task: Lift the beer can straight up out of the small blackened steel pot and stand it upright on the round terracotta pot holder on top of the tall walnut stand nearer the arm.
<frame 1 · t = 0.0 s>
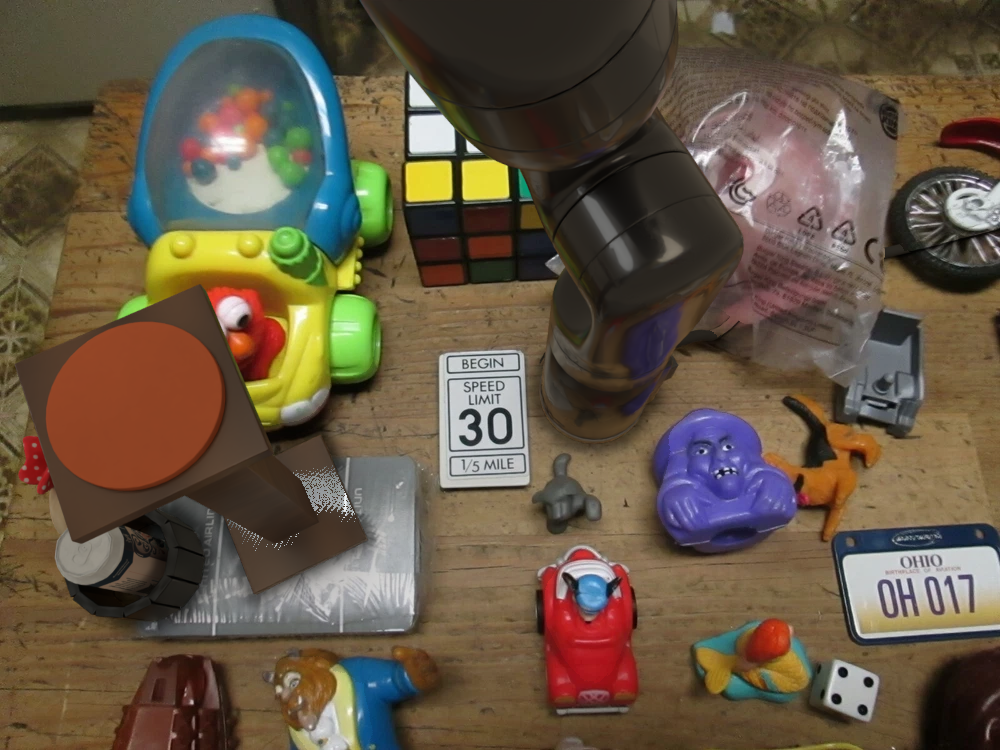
beer can: (153, 567, 69), resting in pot
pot: (152, 567, 69), on the table
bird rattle: (113, 493, 71), on the table
stand: (290, 513, 71), on the table
pot holder: (139, 405, 41), resting on stand
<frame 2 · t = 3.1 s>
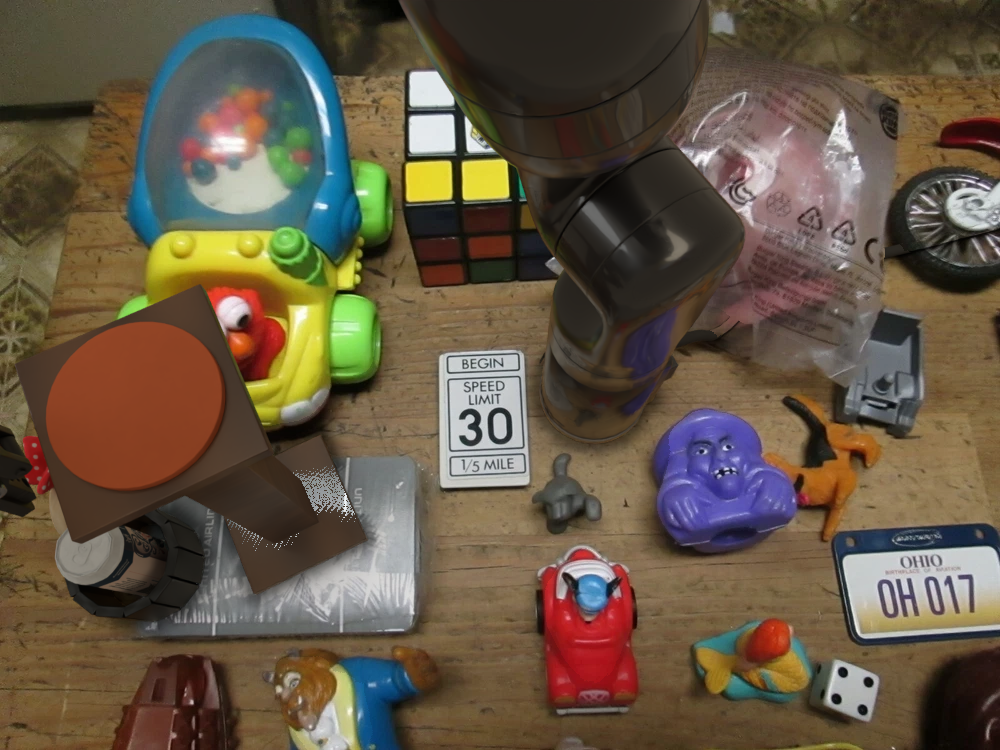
nothing on the table moved.
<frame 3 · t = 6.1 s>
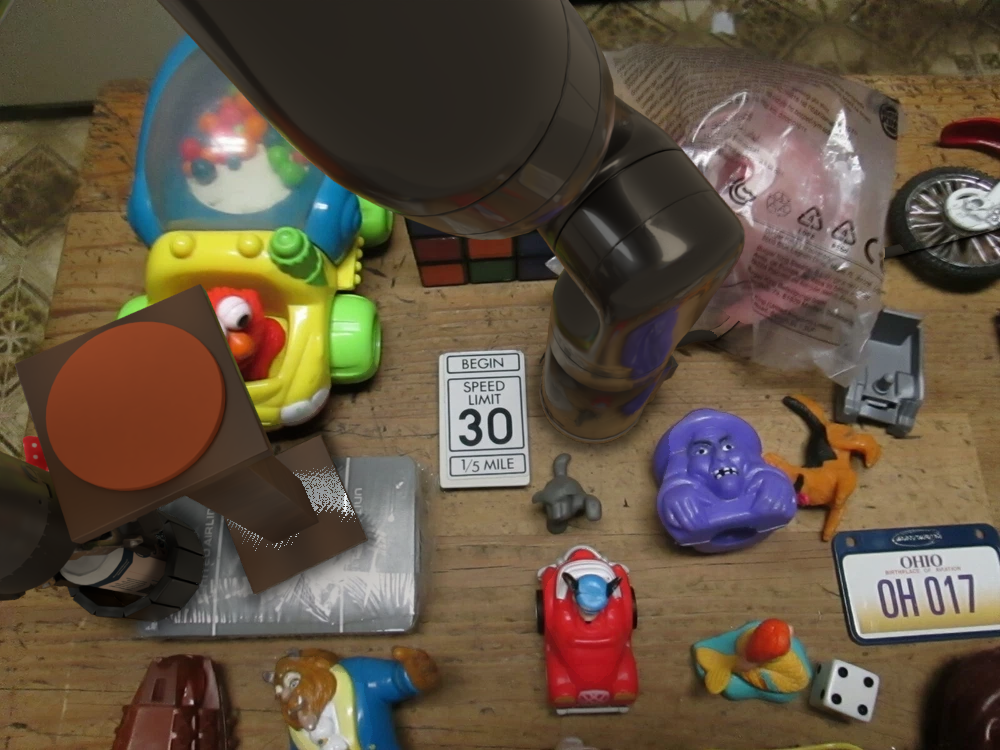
hand: (113, 556, 62), 7 cm above the table, tool pointing down, fingers closed on beer can, 4 cm apart
beer can: (153, 567, 69), resting in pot, touching gripper
everything else where it was.
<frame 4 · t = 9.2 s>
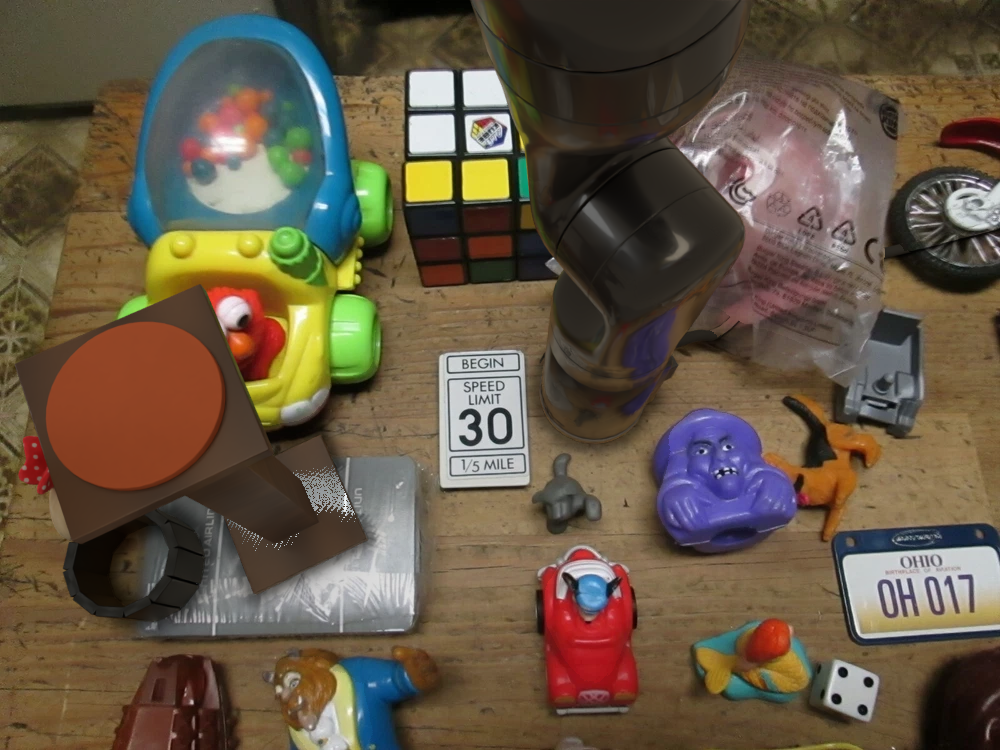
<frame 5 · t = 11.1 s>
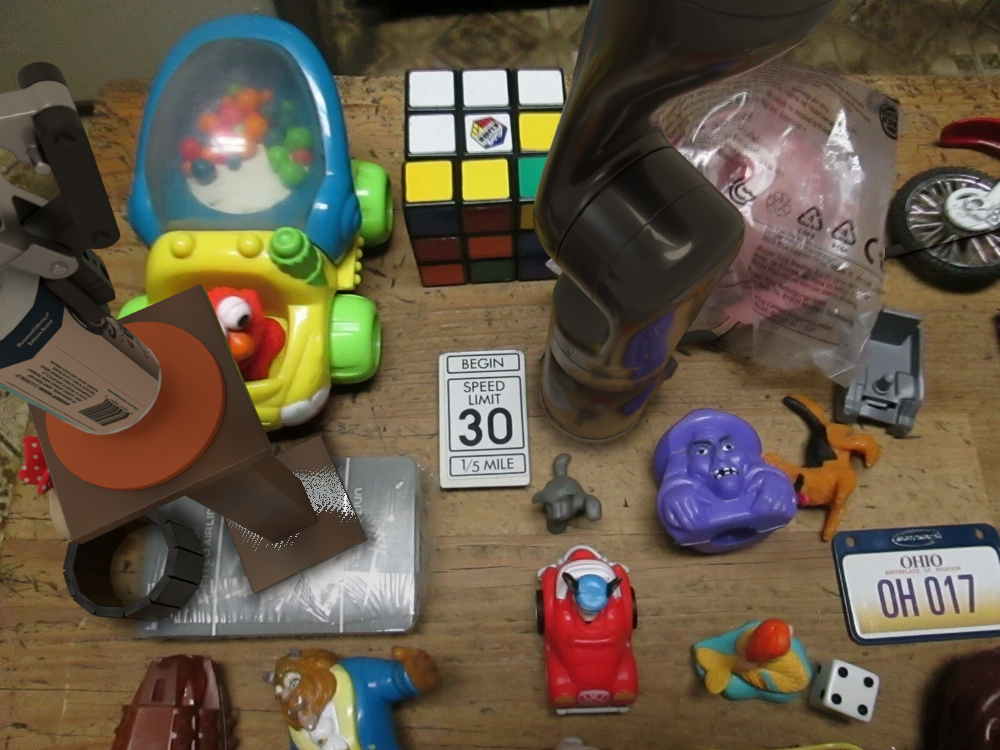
hand: (28, 327, 32), 41 cm above the table, tool pointing down, fingers closed on beer can, 4 cm apart
beer can: (116, 389, 39), point 34 cm above the table, touching gripper
everything else where it was.
when the fingers open (39 cm above the table, at t = 12.3 s): beer can stays where it is, resting on pot holder.
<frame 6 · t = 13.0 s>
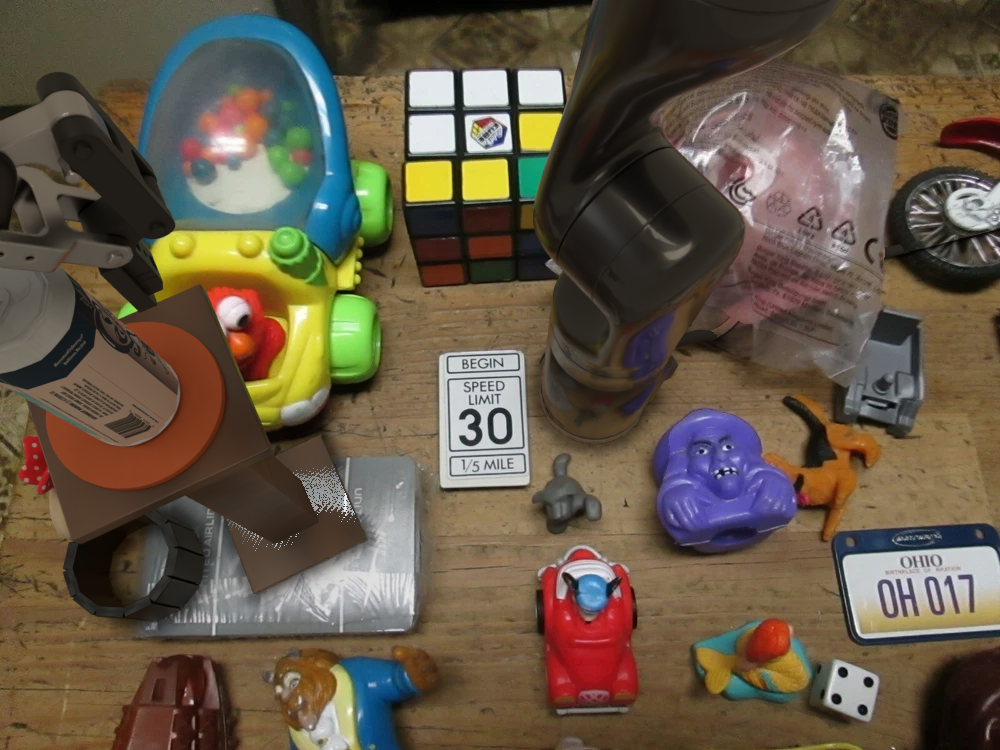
hand: (39, 334, 32), 40 cm above the table, tool pointing down, fingers open, 8 cm apart
beer can: (136, 402, 41), point 31 cm above the table, touching pot holder
everything else where it was.
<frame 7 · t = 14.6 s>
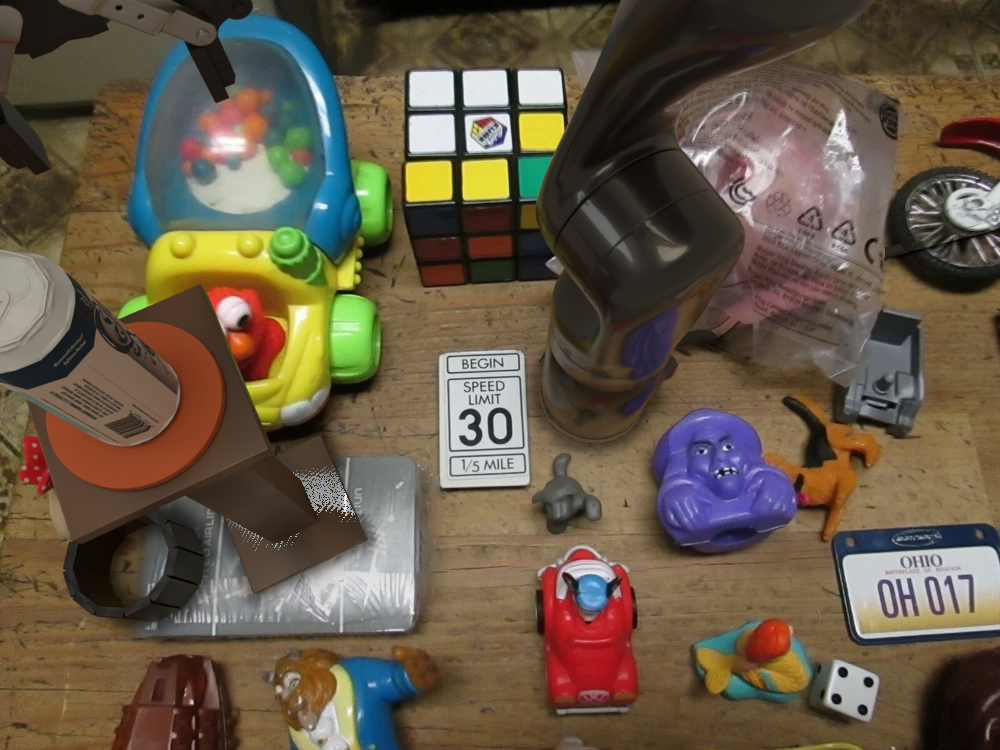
hand: (130, 122, 38), 38 cm above the table, tool pointing down, fingers open, 8 cm apart
nothing on the table moved.
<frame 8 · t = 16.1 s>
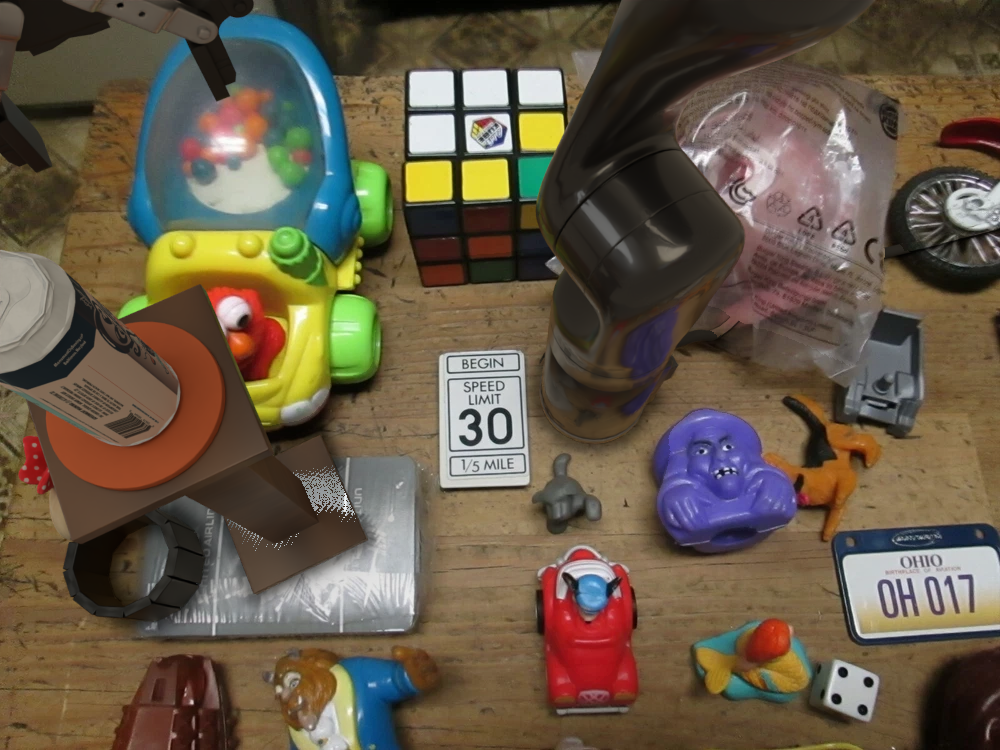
hand: (130, 119, 38), 38 cm above the table, tool pointing down, fingers open, 8 cm apart
nothing on the table moved.
at the end: beer can 0.1 cm off-centre on the pot holder, point 0.4 cm above the pot holder's base; beer can tilted 0°; the gripper is holding nothing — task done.
